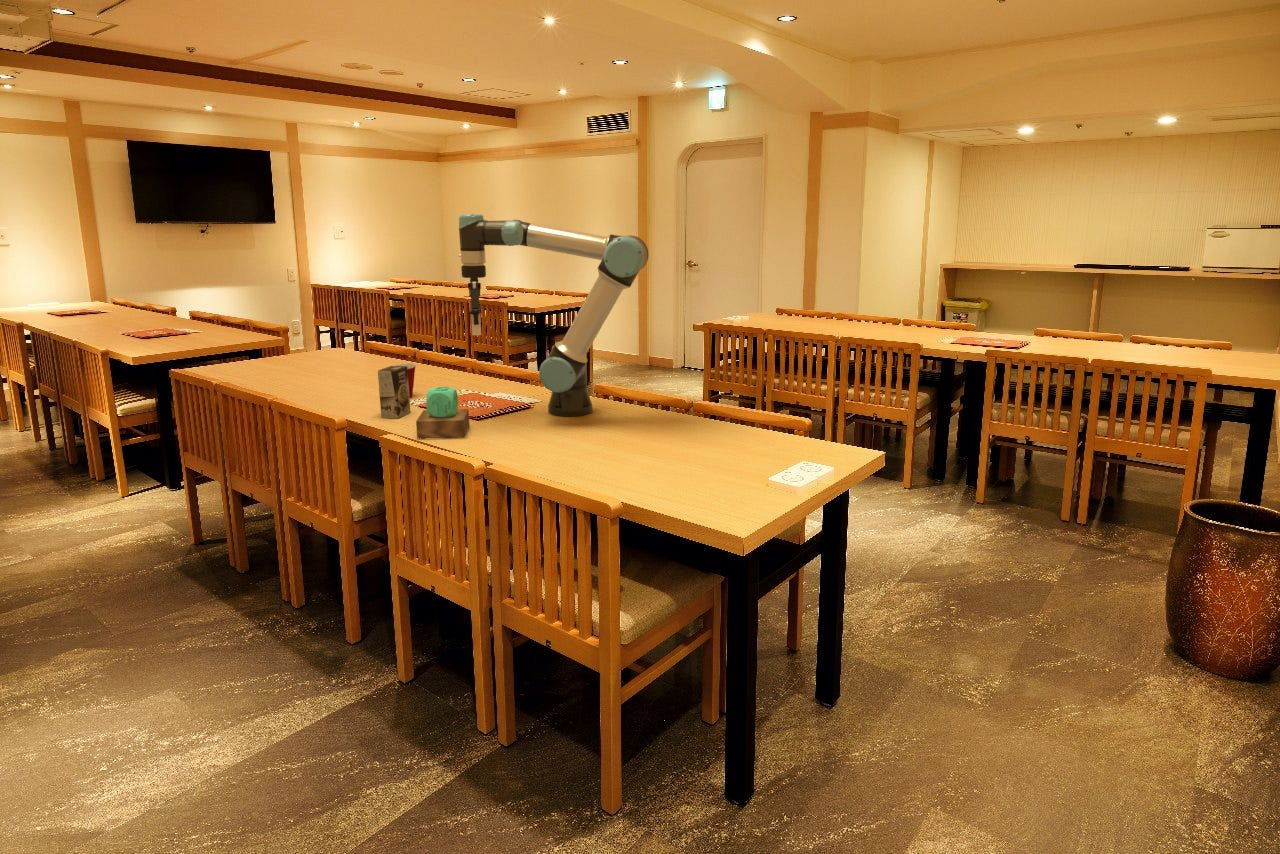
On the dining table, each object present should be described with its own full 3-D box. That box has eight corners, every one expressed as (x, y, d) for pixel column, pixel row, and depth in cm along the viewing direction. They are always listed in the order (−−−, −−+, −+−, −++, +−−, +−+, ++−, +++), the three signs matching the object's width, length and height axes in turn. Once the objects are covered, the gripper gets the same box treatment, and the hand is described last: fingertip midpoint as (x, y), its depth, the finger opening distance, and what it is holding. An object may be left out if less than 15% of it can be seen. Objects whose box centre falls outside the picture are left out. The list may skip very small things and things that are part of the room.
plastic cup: (387, 395, 295) (385, 363, 292) (418, 393, 298) (415, 361, 295) (388, 401, 285) (385, 368, 282) (419, 399, 288) (416, 367, 285)
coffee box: (398, 419, 261) (394, 370, 257) (380, 418, 262) (376, 370, 258) (411, 412, 270) (408, 365, 266) (394, 411, 271) (390, 365, 267)
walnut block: (469, 427, 253) (468, 409, 252) (464, 439, 240) (463, 420, 238) (424, 428, 252) (423, 410, 250) (417, 440, 238) (416, 421, 237)
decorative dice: (426, 417, 241) (425, 392, 238) (433, 411, 248) (431, 386, 246) (453, 418, 241) (451, 392, 239) (458, 411, 248) (457, 386, 246)
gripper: (461, 262, 260) (465, 326, 266) (460, 267, 236) (464, 338, 242) (485, 262, 261) (488, 326, 267) (485, 267, 238) (489, 337, 243)
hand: (476, 332), depth 254 cm, fingers open, 13 cm apart
